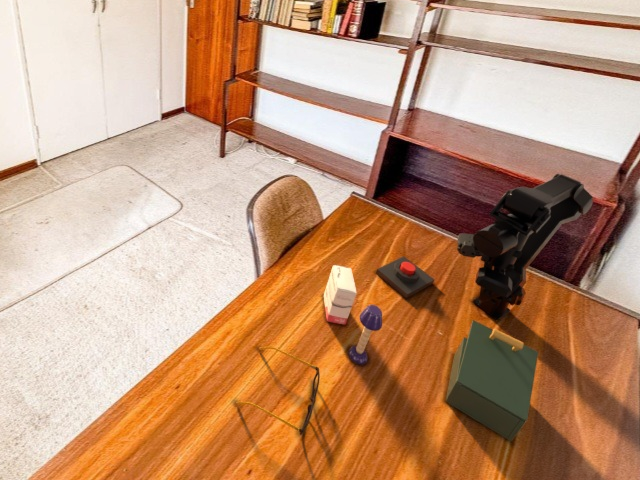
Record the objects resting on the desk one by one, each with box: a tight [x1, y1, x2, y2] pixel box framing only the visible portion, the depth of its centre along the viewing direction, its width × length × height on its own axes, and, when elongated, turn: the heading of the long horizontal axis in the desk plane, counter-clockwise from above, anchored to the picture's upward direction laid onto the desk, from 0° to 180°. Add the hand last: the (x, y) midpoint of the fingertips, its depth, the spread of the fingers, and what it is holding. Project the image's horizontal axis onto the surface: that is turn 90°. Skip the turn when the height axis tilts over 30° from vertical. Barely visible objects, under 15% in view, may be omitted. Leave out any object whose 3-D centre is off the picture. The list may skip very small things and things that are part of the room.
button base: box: [375, 256, 435, 299], centre depth 115 cm, size 12×10×4 cm
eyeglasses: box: [235, 346, 321, 436], centre depth 85 cm, size 14×14×4 cm
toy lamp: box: [348, 304, 383, 366], centre depth 90 cm, size 5×5×17 cm
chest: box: [445, 336, 526, 442], centre depth 85 cm, size 14×12×7 cm
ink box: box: [323, 264, 358, 325], centre depth 103 cm, size 9×5×12 cm, turn 168°
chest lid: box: [456, 319, 539, 423], centre depth 81 cm, size 14×12×4 cm
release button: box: [400, 262, 416, 275], centre depth 114 cm, size 4×4×2 cm
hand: (482, 288), depth 97 cm, fingers open, 9 cm apart
